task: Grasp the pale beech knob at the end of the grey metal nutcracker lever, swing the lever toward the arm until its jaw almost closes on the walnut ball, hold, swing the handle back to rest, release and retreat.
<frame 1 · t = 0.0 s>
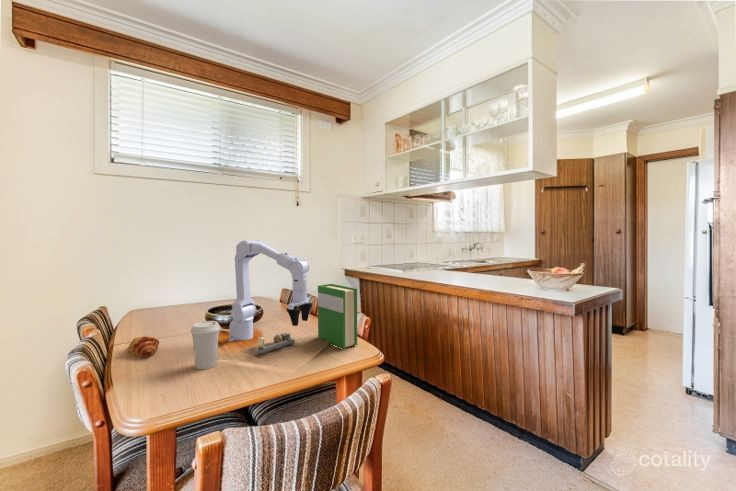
hand: (300, 323, 134), 10 cm above the table, fingers open, 7 cm apart
lever: (276, 340, 129), point 4 cm above the table, hinge at 0.0°
walnut: (278, 343, 136), point 1 cm above the table, touching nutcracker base
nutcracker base: (289, 347, 134), on the table
croissant: (144, 352, 130), on the table
coffee cup: (206, 366, 116), on the table
hardback book: (337, 343, 140), on the table
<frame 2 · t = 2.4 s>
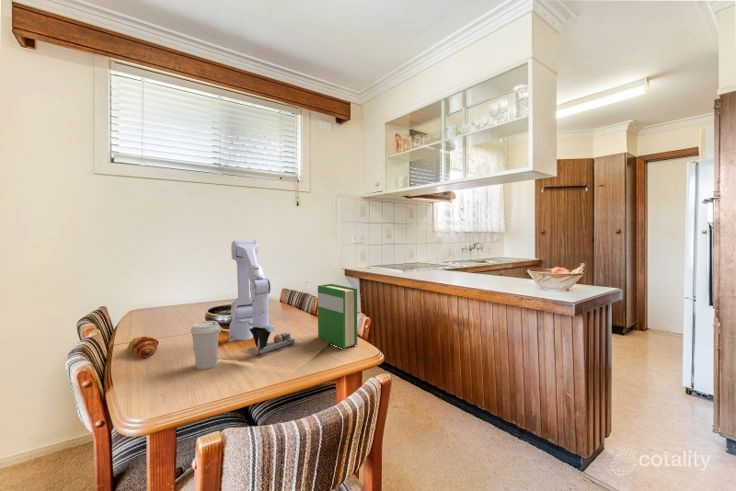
hand: (261, 346, 124), 4 cm above the table, fingers closed on lever, 2 cm apart
lever: (276, 340, 129), point 4 cm above the table, hinge at 0.0°, touching gripper
everything else where it was.
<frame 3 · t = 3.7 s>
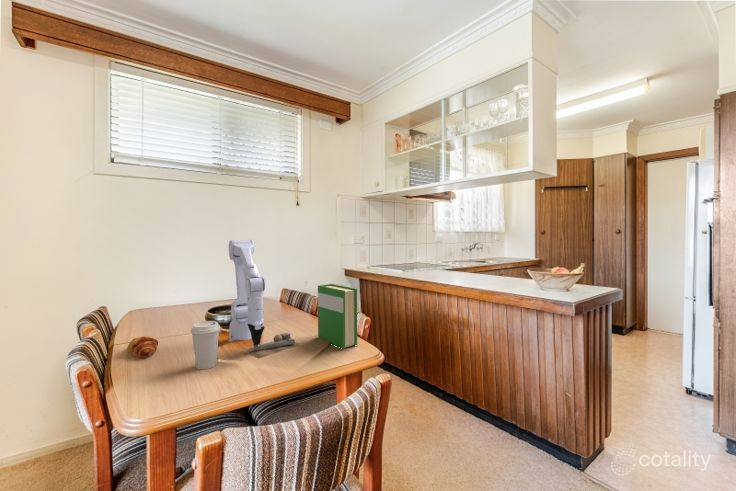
hand: (256, 342, 128), 4 cm above the table, fingers open, 4 cm apart
lever: (274, 339, 131), point 4 cm above the table, hinge at -20.9°, touching gripper
everything else where it was.
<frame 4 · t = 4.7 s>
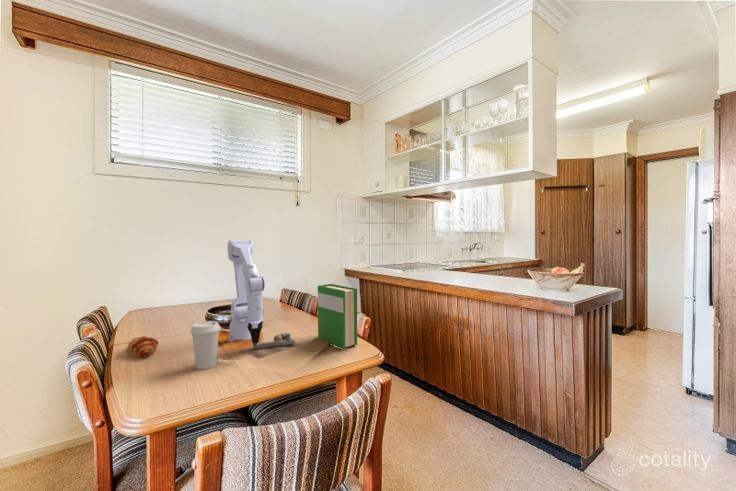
hand: (255, 341, 130), 4 cm above the table, fingers open, 3 cm apart
lever: (273, 338, 132), point 4 cm above the table, hinge at -30.5°, touching gripper
everything else where it was.
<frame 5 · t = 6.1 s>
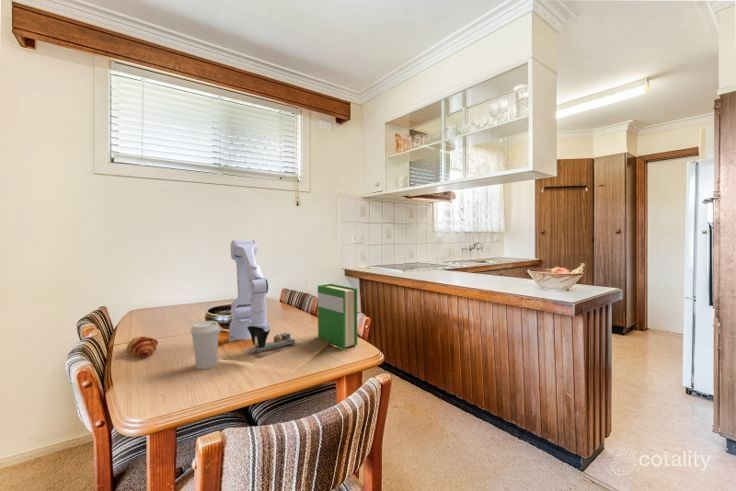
hand: (259, 345, 125), 4 cm above the table, fingers open, 4 cm apart
lever: (275, 340, 130), point 4 cm above the table, hinge at -11.7°, touching gripper
everything else where it was.
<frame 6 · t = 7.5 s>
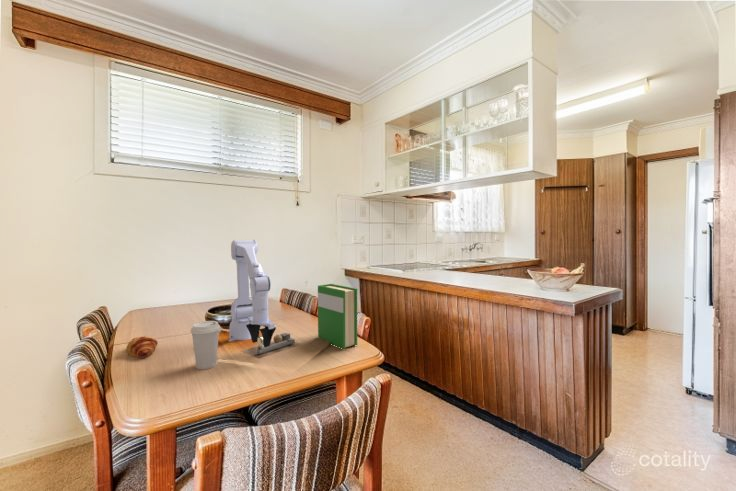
hand: (261, 344, 124), 5 cm above the table, fingers open, 7 cm apart
lever: (276, 340, 129), point 4 cm above the table, hinge at -1.7°
everything else where it was.
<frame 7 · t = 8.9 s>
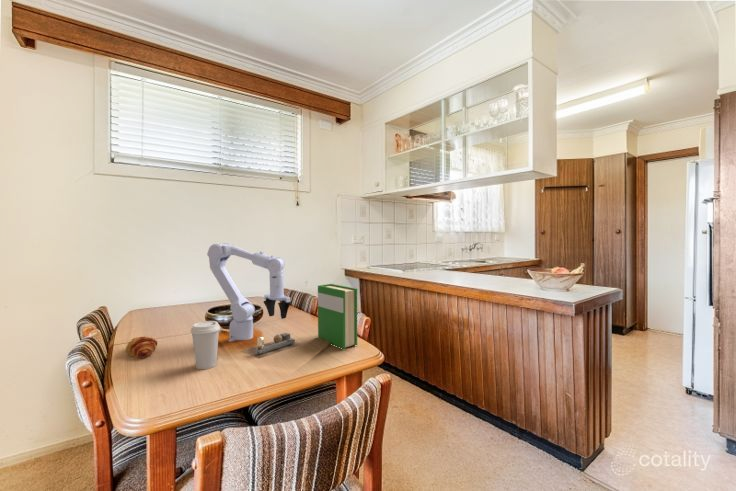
hand: (277, 317, 143), 10 cm above the table, fingers open, 7 cm apart
nothing on the table moved.
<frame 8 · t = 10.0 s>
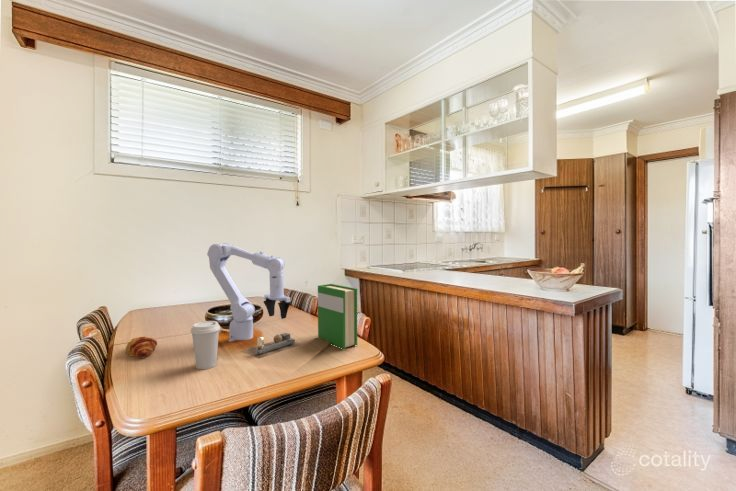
hand: (277, 317, 143), 10 cm above the table, fingers open, 7 cm apart
nothing on the table moved.
at the end: lever at -2° (first picture: +0°); the gripper is holding nothing; walnut moved 0.1 cm from its start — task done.
